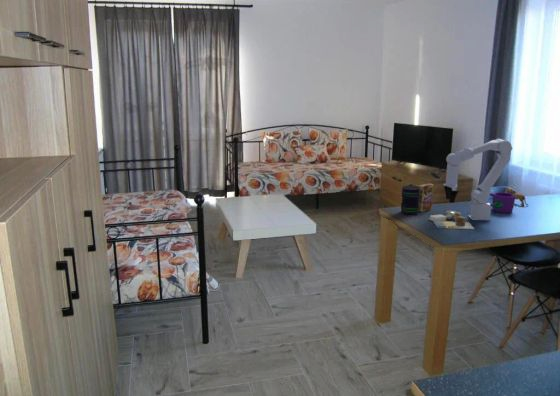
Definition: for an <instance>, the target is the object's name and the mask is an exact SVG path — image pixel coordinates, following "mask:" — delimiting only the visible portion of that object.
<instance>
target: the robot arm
mask: <svg viewBox="0 0 560 396" xmlns="http://www.w3.org/2000/svg"><path fill="white" fill-rule="evenodd" d="M512 150H513V147H512V144H511V142H510V141H508V140H504V139H503V138H496V139H492V140H489V141H488V142H484V143H482V144H480V145H478V146H476V147H473V148H471V147H464V148H463V149H462V150H459V151H454V153H453V152H451V153H449V154H448V155H447V156H446V158H445V161H446V163H447V165H446V175H445V183H443V188H444V194H445V199H446V200H448V202H449V204H451V203H452V204H454V203H455V201H456V197H457V196H458V194H459V192H460V191H459V189H458V177H459V165H460V164H461V163H463V162H466V161H467V160H470V159H472V158H474V157H475V155H478V154H481V153H484V152H487V151H495V153H496V155H497V159H496V161H495V163H494V165H493V166H491V169H490V170H489V171H488V174H487V175H486V176H485V178H484V179H483V181H482V182H481V183H480V184H478V185H477V187H476V188H475V189H473V190H472V191H471V193H470V196H471V198H472V200H471V208H470V215H469V214H468V215H467V216H468V217H469V219H470V220H471V221H491V213H492V212H491V211H492V206H491V205H490V204H491V203H490V202H488V201H489V199H490V196H489V195H490V194H491V193H492V192H491V191H492V188H493V187H494V185H495V184H496V182H497V180H498V179H499V177H501V174H502V173H503V171H504V170H505V168H506V167H507V165H508V164H509V162H510V161H511V155H512ZM486 202H488V203H486Z"/></svg>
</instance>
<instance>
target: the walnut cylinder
mask: <svg viewBox="0 0 560 396" xmlns="http://www.w3.org/2000/svg"><path fill="white" fill-rule="evenodd" d="M465 222H466V217H465V216H462V215H461V216H457V217H456V225H457V226H465Z"/></svg>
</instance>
